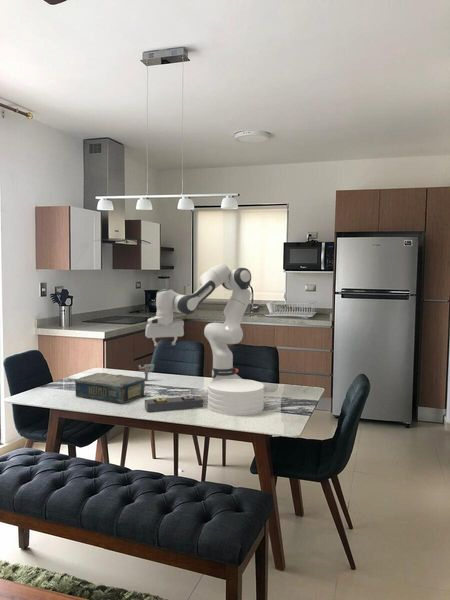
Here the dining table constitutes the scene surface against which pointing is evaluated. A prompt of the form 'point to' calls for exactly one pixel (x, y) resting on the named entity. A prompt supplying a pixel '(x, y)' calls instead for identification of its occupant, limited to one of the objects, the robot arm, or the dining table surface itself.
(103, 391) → the metal box
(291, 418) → the dining table surface
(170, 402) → the rail
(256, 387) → the plate stack
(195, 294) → the robot arm
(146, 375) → the mechanical component
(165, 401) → the wooden cube with knob
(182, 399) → the grey knobbed square block
